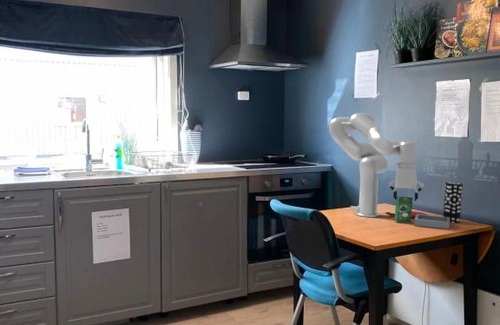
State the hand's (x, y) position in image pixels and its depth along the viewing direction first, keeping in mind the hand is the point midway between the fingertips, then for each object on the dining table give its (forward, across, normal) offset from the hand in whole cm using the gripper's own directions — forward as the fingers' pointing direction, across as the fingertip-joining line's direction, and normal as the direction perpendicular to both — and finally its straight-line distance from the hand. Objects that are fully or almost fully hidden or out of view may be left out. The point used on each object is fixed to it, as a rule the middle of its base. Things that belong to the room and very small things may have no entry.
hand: (405, 199), depth 255 cm
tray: (+12, +13, 0) cm, 18 cm away
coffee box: (+12, -1, 0) cm, 12 cm away
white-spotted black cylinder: (+12, +22, +16) cm, 30 cm away
